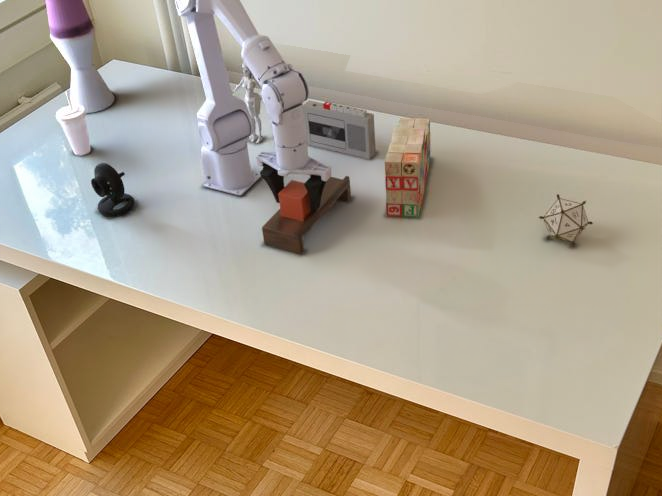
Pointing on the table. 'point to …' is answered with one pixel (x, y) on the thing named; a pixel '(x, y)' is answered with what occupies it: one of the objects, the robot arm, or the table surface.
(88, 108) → the lamp
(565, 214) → the game die
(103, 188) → the webcam
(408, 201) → the stack of blocks
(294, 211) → the block
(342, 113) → the cassette player
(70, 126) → the smoothie
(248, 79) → the human figurine
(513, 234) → the table surface
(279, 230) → the shelf
